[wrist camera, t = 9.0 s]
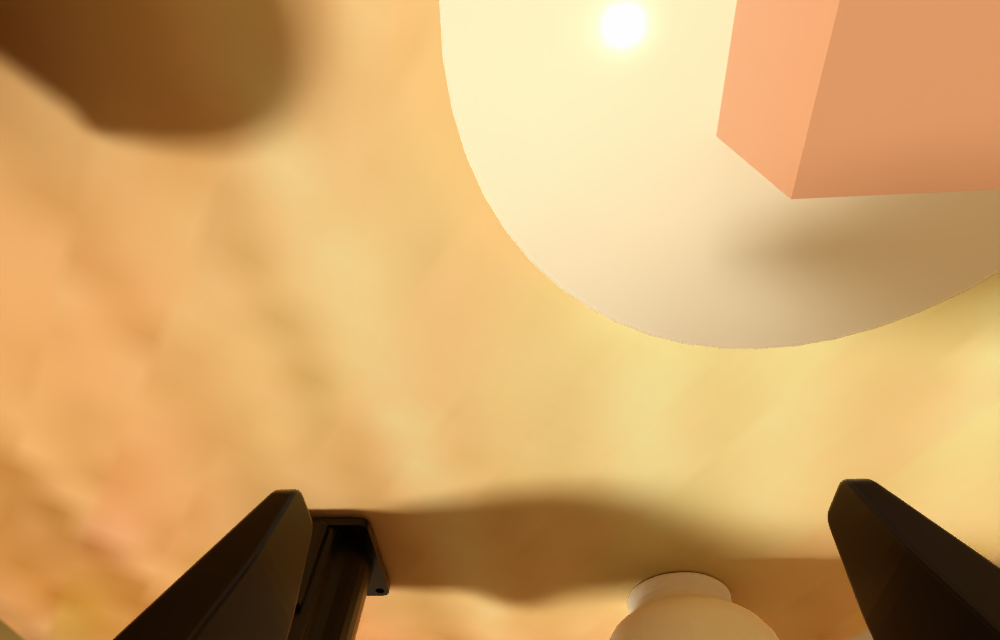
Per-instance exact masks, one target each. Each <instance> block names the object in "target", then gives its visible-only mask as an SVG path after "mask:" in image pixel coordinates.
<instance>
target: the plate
mask: <svg viewBox="0 0 1000 640" xmlns="http://www.w3.org/2000/svg"><path fill="white" fill-rule="evenodd" d="M439 2H440V19H441V35H442V52H443V62H444V68H445V73H446V79H447V85H448V90H449V96H450V101H451V107H452V112H453V115H454V118H455V121H456V125H457V128H458V131H459V135H460V138H461V141H462V144H463V148H464V151H465V154H466V157H467V159H468V161H469V164H470V166H471V168H472V170H473V172H474V175H475V177H476V179H477V181H478V184H479V186H480V188H481V190H482V192H483V195H484V197H485V198H486V200H487V201H488V203H489V205H490V206H491V208H492V210H493V211H494V213H495V214H496V216H497V218H498V219H499V221H500V223H501V224H502V226H503V227H504V229H505V231H506V232H507V233H508V234H509V236H510V237H511V238H512V239H513V240H514V242H515V243H516V244H517V245H518V247H519V248H520V249H521V250H522V251H523V253H524V254H525V255H526V256H527V258H528V259H529V260H530V261H531V262H532V263H533V264H534V265H535V266H536V267H537V268H539V269H540V270H541V271H542V272H543V273H544V274H545V275H546V276H547V277H548V278H549V279H550V280H551V281H552V282H553V283H555V284H556V285H557V286H558V287H560V288H561V289H562V290H564V291H565V292H567V293H568V294H569V295H571V296H572V297H574V298H575V299H576V300H578V301H579V302H581V303H582V304H583V305H585V306H586V307H588V308H590V309H592V310H594V311H596V312H598V313H599V314H601V315H603V316H605V317H607V318H609V319H611V320H613V321H615V322H616V323H619V324H622V325H624V326H627V327H629V328H632V329H635V330H637V331H640V332H643V333H645V334H648V335H651V336H655V337H659V338H663V339H667V340H671V341H675V342H679V343H683V344H690V345H698V346H706V347H714V348H730V349H764V348H777V347H789V346H799V345H804V344H810V343H815V342H821V341H827V340H832V339H837V338H841V337H845V336H848V335H852V334H856V333H859V332H863V331H867V330H870V329H874V328H878V327H880V326H883V325H886V324H889V323H891V322H894V321H897V320H899V319H902V318H905V317H908V316H910V315H913V314H916V313H919V312H921V311H923V310H925V309H927V308H930V307H932V306H934V305H936V304H938V303H940V302H943V301H945V300H947V299H949V298H951V297H953V296H956V295H958V294H960V293H962V292H964V291H966V290H968V289H969V288H971V287H973V286H975V285H977V284H978V283H980V282H982V281H984V280H986V279H987V278H989V277H991V276H993V275H994V274H996V273H998V272H1000V189H996V190H975V191H954V192H933V193H912V194H891V195H870V196H849V197H828V198H807V199H790V198H789V197H788V196H786V195H785V194H784V193H783V192H782V191H780V190H779V189H778V188H777V187H776V186H775V185H773V184H772V183H771V182H770V181H769V180H767V179H766V178H765V177H764V176H763V175H762V174H760V173H759V172H758V171H757V170H756V169H754V168H753V167H752V166H751V165H750V164H748V163H747V162H746V161H745V160H744V159H743V158H741V157H740V156H739V155H738V154H737V153H735V152H734V151H733V150H732V149H731V148H730V147H728V146H727V145H726V144H725V143H724V142H722V141H721V140H720V139H719V138H718V137H717V136H716V134H717V127H718V121H719V114H720V108H721V101H722V95H723V88H724V82H725V75H726V69H727V62H728V56H729V49H730V43H731V36H732V30H733V23H734V17H735V10H736V4H737V0H439Z"/></svg>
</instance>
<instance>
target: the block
mask: <svg viewBox="0 0 1000 640" xmlns="http://www.w3.org/2000/svg"><path fill="white" fill-rule="evenodd" d="M716 136H717V137H718V138H719V139H720V140H721V141H722V142H724V143H725V144H726V145H727V146H728V147H730V148H731V149H732V150H733V151H734V152H735V153H737V154H738V155H739V156H740V157H741V158H743V159H744V160H745V161H746V162H747V163H748V164H750V165H751V166H752V167H753V168H754V169H756V170H757V171H758V172H759V173H760V174H762V175H763V176H764V177H765V178H766V179H767V180H769V181H770V182H771V183H772V184H773V185H775V186H776V187H777V188H778V189H779V190H780V191H782V192H783V193H784V194H785V195H786V196H788V197H789V198H790V199H807V198H828V197H849V196H870V195H891V194H912V193H933V192H954V191H975V190H996V189H1000V0H737V4H736V10H735V17H734V23H733V30H732V36H731V43H730V49H729V56H728V62H727V69H726V75H725V82H724V88H723V95H722V101H721V108H720V114H719V121H718V127H717V134H716Z"/></svg>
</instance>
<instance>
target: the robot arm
mask: <svg viewBox="0 0 1000 640" xmlns="http://www.w3.org/2000/svg"><path fill="white" fill-rule="evenodd" d="M828 523H829V527H830V530H831V533H832V535H833V538H834V541H835V543H836V546H837V549H838V551H839V554H840V557H841V559H842V562H843V565H844V567H845V570H846V573H847V575H848V578H849V581H850V583H851V586H852V589H853V591H854V594H855V597H856V599H857V602H858V605H859V607H860V610H861V612H862V615H863V617H864V620H865V622H866V624H867V626H868V629H869V631H870V633H871V635H872V637H873V639H874V640H1000V568H999V567H998V566H996V565H995V564H993V563H992V562H991V561H989V560H988V559H986V558H985V557H983V556H982V555H980V554H979V553H978V552H976V551H975V550H973V549H972V548H970V547H969V546H967V545H966V544H965V543H963V542H962V541H960V540H959V539H957V538H956V537H954V536H953V535H952V534H950V533H949V532H947V531H946V530H944V529H943V528H941V527H940V526H939V525H937V524H936V523H934V522H933V521H931V520H930V519H928V518H927V517H926V516H924V515H923V514H921V513H920V512H918V511H917V510H915V509H914V508H913V507H911V506H910V505H908V504H907V503H905V502H904V501H902V500H901V499H900V498H898V497H897V496H895V495H894V494H892V493H891V492H889V491H888V490H887V489H885V488H884V487H882V486H881V485H879V484H878V483H876V482H874V481H872V480H869V479H845V480H843V481H842V482H840V484H839V486H838V488H837V491H836V493H835V496H834V498H833V501H832V503H831V506H830V508H829V511H828ZM389 589H390V582H389V579H388V576H387V573H386V570H385V567H384V564H383V561H382V558H381V555H380V552H379V549H378V546H377V543H376V540H375V537H374V534H373V531H372V528H371V525H370V523H369V522H368V521H367V520H365V519H363V518H311V516H310V514H309V511H308V508H307V506H306V503H305V501H304V498H303V495H302V493H301V492H300V491H299V490H296V489H289V490H276V491H274V492H272V493H271V494H270V495H269V496H267V497H266V498H265V499H264V500H263V501H262V502H261V503H260V504H259V505H258V506H257V507H256V508H254V509H253V510H252V511H251V512H250V513H249V514H248V515H247V516H246V517H245V518H244V519H243V520H241V521H240V522H239V523H238V524H237V525H236V526H235V527H234V528H233V529H232V530H231V531H230V532H229V533H227V534H226V535H225V536H224V537H223V538H222V539H221V540H220V541H219V542H218V543H217V544H216V545H214V546H213V547H212V548H211V549H210V550H209V551H208V552H207V553H206V554H205V555H204V556H203V557H201V558H200V559H199V560H198V561H197V562H196V563H195V564H194V565H193V566H192V567H191V568H190V569H189V570H187V571H186V572H185V573H184V574H183V575H182V576H181V577H180V578H179V579H178V580H177V581H176V582H174V583H173V584H172V585H171V586H170V587H169V588H168V589H167V590H166V591H165V592H164V593H163V594H161V595H160V596H159V597H158V598H157V599H156V600H155V601H154V602H153V603H152V604H151V605H150V606H149V607H147V608H146V609H145V610H144V611H143V612H142V613H141V614H140V615H139V616H138V617H137V618H136V619H134V620H133V621H132V622H131V623H130V624H129V625H128V626H127V627H126V628H125V629H124V630H123V631H122V632H120V633H119V634H118V635H117V636H116V637H115V638H114V639H113V640H355V637H356V633H357V630H358V626H359V622H360V618H361V614H362V610H363V607H364V603H365V599H366V596H383V595H387V594H388V593H389Z"/></svg>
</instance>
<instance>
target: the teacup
mask: <svg viewBox="0 0 1000 640" xmlns="http://www.w3.org/2000/svg"><path fill="white" fill-rule="evenodd" d="M627 606H628V610H629V613H630V614H629V615H628V616H627V617H626V618H625V619H624V620H623V621H622V622H621V623H620V624H619V625H618V626H617V627H616V629H615V630H614V632H613V634H612V636H611V638H610V640H780V639H779V638H778V637H777V635H776V634H775V632H774V631H773V630H772V629H771V628H770V627H769V626H768V625H767V624H766V623H765V622H764V621H763V620H762V619H761V618H760V617H758V616H757V615H756V614H754V613H753V612H751V611H750V610H748V609H746V608H744V607H742V606H740V605H737V604H735V603H732V598H731V594H730V591H729V590H728V588H727V587H726V586H725V585H724V584H723V583H722V582H720V581H719V580H717V579H715V578H713V577H710V576H707V575H704V574H700V573H693V572H676V573H668V574H663V575H659V576H656V577H652V578H650V579H648V580H645V581H643V582H642V583H640V584H639V585H638V586H636V587H635V588H634V589H633V590H632V592H631V593H630V595H629V597H628V601H627Z"/></svg>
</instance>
